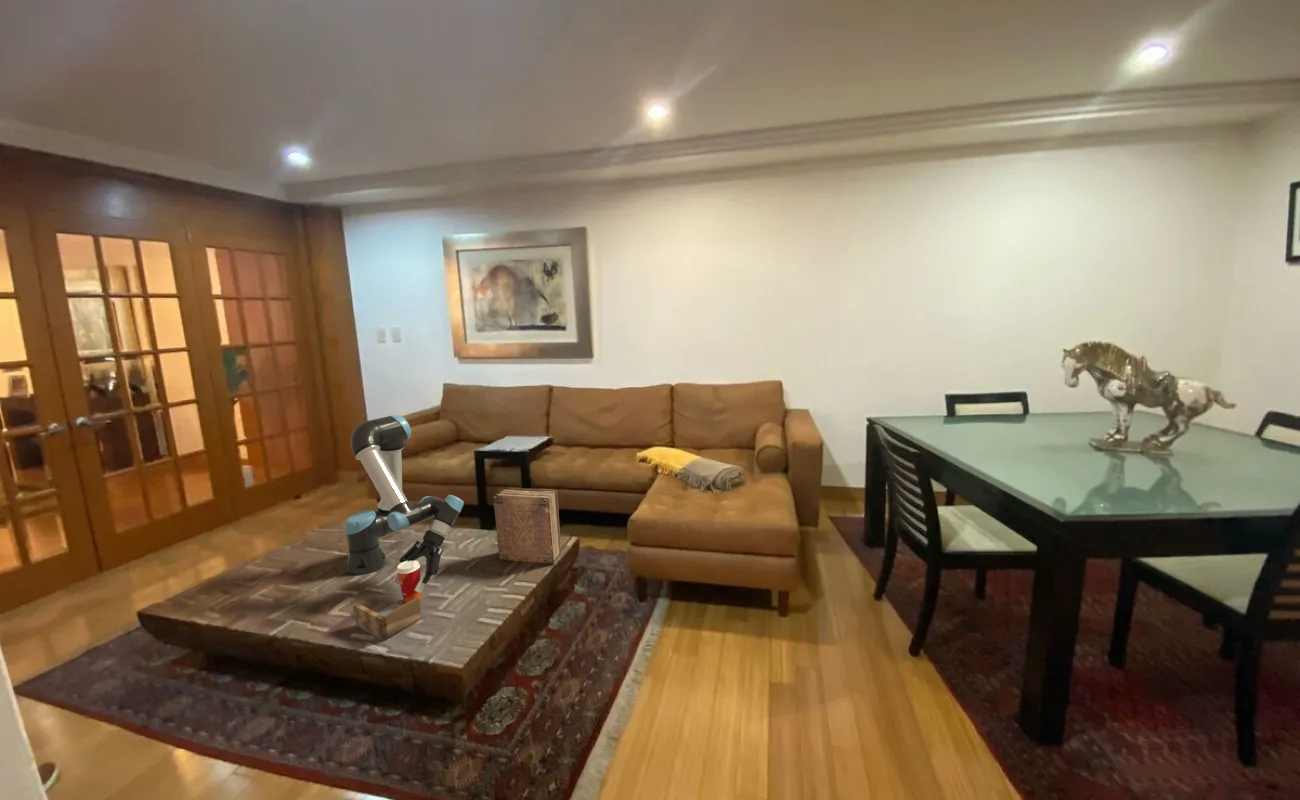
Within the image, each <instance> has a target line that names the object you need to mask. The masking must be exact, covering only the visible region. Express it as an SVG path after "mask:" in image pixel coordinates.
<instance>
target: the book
mask: <svg viewBox="0 0 1300 800" xmlns="http://www.w3.org/2000/svg"><path fill="white" fill-rule="evenodd" d="M492 497H493V508H494V509H493V511H494V520H495V528H496V529H495V530H496V539H497V549H498V559H499V561H506V562H518V563H529V564H530V563H531V564H542V565H554V564H555V561H556V559H557V557H559V556H561V555H562V543H561V542H562V541H561V532H560V531H561V529H560V516H559V515H560V514H559V513H560V512H559V503H558V502H559V501H558V500H559V499H558V490H557V489H544V488H543V489H539V488H519V487H504V488H502V489H500V490H499V491H498V492H496V493H495V494H494V495H492Z"/></svg>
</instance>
